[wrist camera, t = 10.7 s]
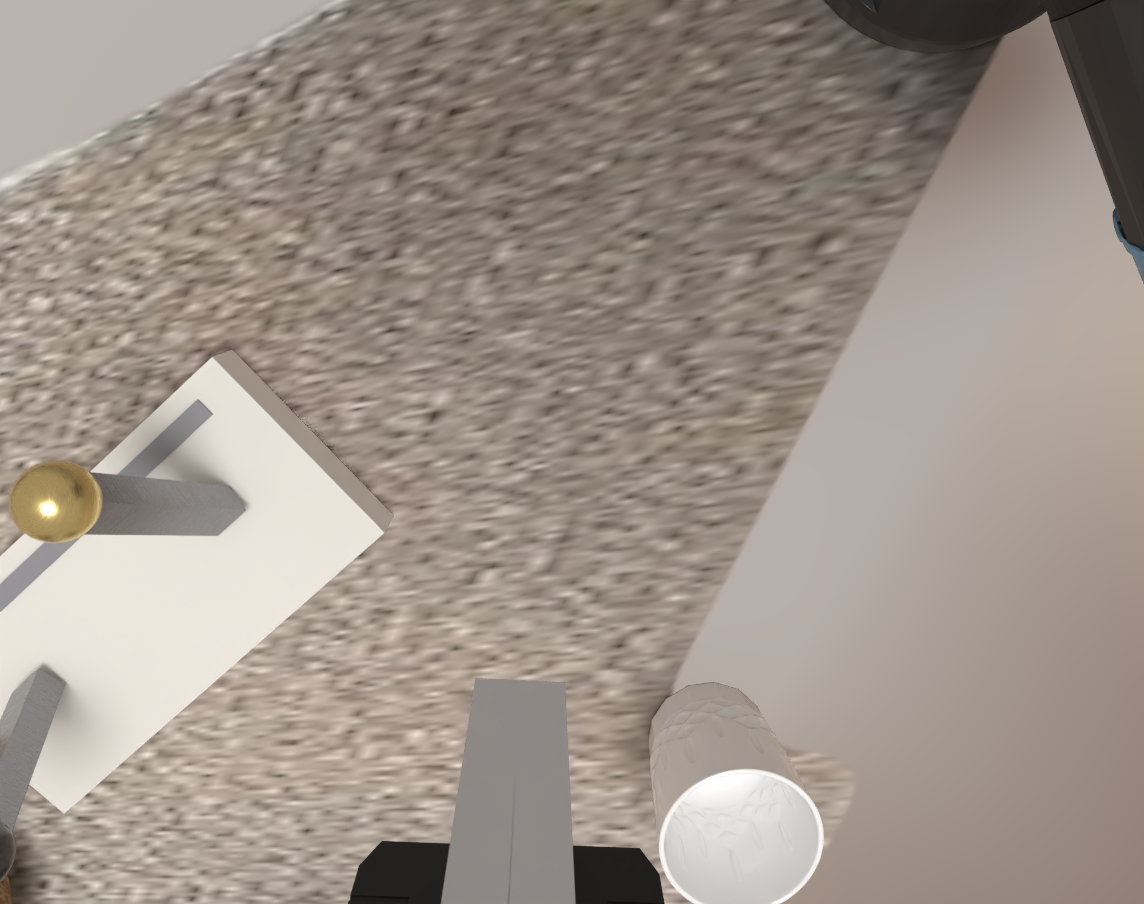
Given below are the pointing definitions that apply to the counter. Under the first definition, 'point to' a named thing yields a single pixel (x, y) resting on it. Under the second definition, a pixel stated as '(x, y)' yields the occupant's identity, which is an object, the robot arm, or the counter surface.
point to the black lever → (22, 750)
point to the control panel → (177, 574)
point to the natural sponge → (5, 891)
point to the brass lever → (116, 504)
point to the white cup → (728, 801)
